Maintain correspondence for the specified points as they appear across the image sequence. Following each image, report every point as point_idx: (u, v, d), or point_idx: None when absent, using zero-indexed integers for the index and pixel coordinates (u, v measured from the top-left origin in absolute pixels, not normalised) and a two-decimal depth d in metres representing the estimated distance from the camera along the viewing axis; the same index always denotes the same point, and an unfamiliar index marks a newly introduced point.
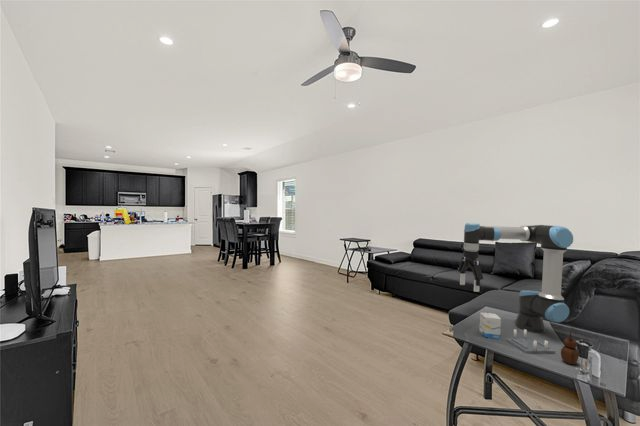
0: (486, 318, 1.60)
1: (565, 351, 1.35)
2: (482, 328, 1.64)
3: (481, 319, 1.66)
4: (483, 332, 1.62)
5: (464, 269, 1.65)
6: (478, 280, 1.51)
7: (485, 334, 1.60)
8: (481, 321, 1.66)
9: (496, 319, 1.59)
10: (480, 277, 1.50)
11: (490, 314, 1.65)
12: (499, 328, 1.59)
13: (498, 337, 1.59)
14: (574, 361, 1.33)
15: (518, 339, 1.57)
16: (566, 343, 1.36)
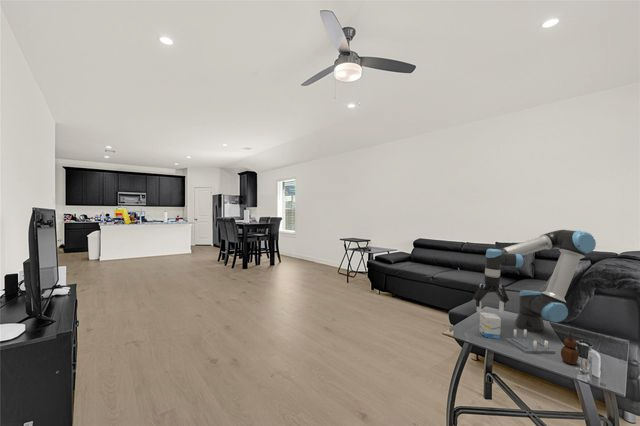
0: (486, 318, 1.60)
1: (565, 351, 1.35)
2: (482, 328, 1.64)
3: (481, 319, 1.66)
4: (483, 332, 1.62)
5: (499, 296, 1.64)
6: (476, 300, 1.63)
7: (485, 334, 1.60)
8: (481, 321, 1.66)
9: (496, 319, 1.59)
10: (474, 297, 1.63)
11: (490, 314, 1.65)
12: (499, 328, 1.59)
13: (498, 337, 1.59)
14: (574, 361, 1.33)
15: (518, 339, 1.57)
16: (566, 343, 1.36)
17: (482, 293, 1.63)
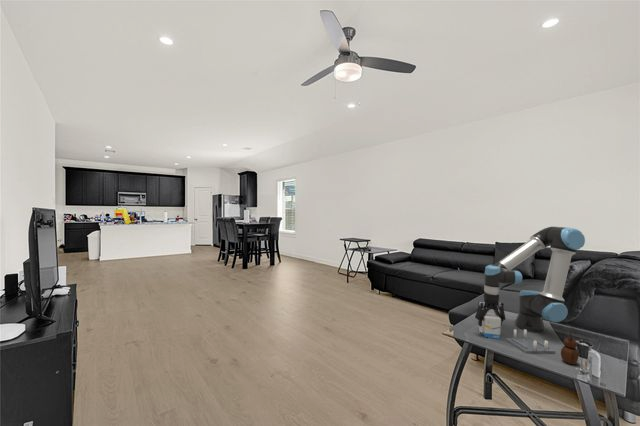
0: (486, 318, 1.60)
1: (565, 351, 1.35)
2: None
3: None
4: (483, 332, 1.62)
5: (496, 314, 1.64)
6: (479, 320, 1.63)
7: (485, 334, 1.60)
8: None
9: (496, 319, 1.59)
10: (476, 317, 1.63)
11: (490, 314, 1.65)
12: (499, 328, 1.59)
13: (498, 337, 1.59)
14: (574, 361, 1.33)
15: (518, 339, 1.57)
16: (566, 343, 1.36)
17: (483, 312, 1.63)
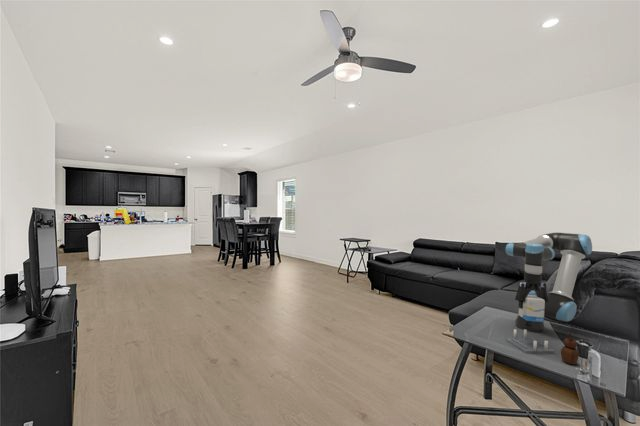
0: (528, 299, 1.48)
1: (565, 351, 1.35)
2: None
3: None
4: (525, 314, 1.49)
5: (538, 296, 1.51)
6: (519, 302, 1.51)
7: (527, 317, 1.48)
8: None
9: (539, 300, 1.46)
10: (516, 298, 1.50)
11: (531, 296, 1.52)
12: (543, 310, 1.46)
13: (541, 320, 1.46)
14: (574, 361, 1.33)
15: (518, 339, 1.57)
16: (566, 343, 1.36)
17: (524, 293, 1.50)
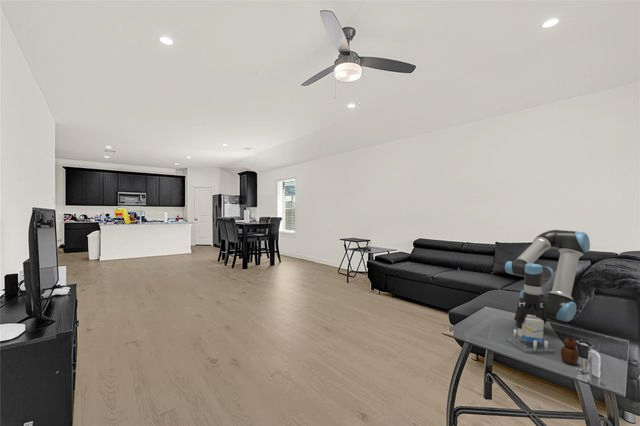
0: (527, 320, 1.48)
1: (565, 351, 1.35)
2: None
3: None
4: (524, 335, 1.49)
5: (537, 316, 1.51)
6: (518, 322, 1.51)
7: (526, 337, 1.48)
8: None
9: (538, 321, 1.47)
10: (516, 319, 1.51)
11: (530, 316, 1.52)
12: (542, 331, 1.46)
13: (541, 341, 1.46)
14: (574, 361, 1.33)
15: (518, 339, 1.57)
16: (566, 343, 1.36)
17: (523, 313, 1.50)
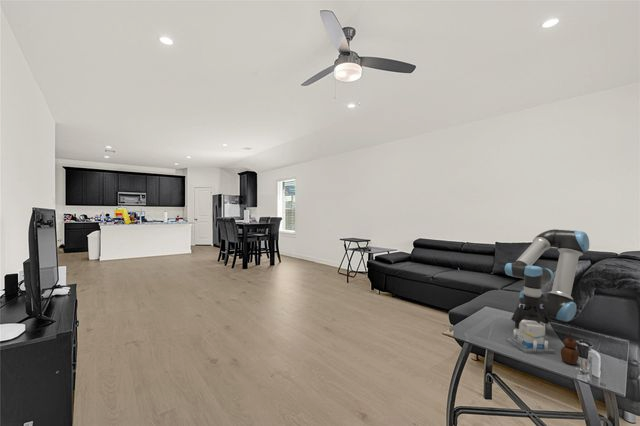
0: (528, 326, 1.48)
1: (565, 351, 1.35)
2: (522, 337, 1.51)
3: (521, 327, 1.53)
4: (525, 341, 1.49)
5: (539, 317, 1.52)
6: (515, 322, 1.51)
7: (527, 343, 1.48)
8: (521, 329, 1.53)
9: (539, 327, 1.47)
10: (513, 318, 1.50)
11: (530, 321, 1.52)
12: (542, 337, 1.46)
13: (541, 347, 1.47)
14: (574, 361, 1.33)
15: None
16: (566, 343, 1.36)
17: (521, 314, 1.50)
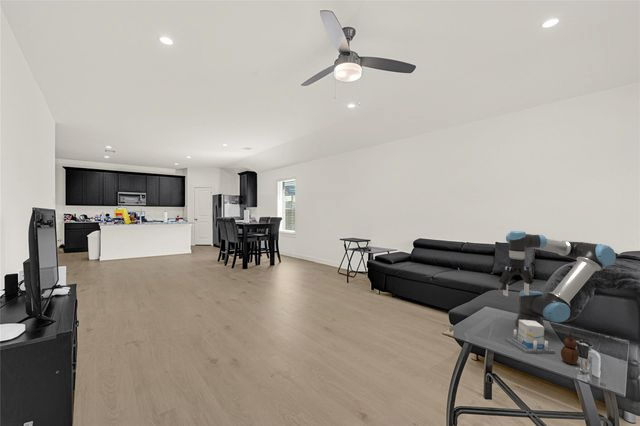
0: (528, 326, 1.48)
1: (565, 351, 1.35)
2: (522, 337, 1.51)
3: (521, 327, 1.53)
4: (525, 341, 1.49)
5: (523, 278, 1.63)
6: (503, 284, 1.61)
7: (527, 343, 1.48)
8: (521, 329, 1.53)
9: (539, 327, 1.47)
10: (500, 281, 1.60)
11: (530, 321, 1.52)
12: (542, 337, 1.46)
13: (541, 347, 1.47)
14: (574, 361, 1.33)
15: None
16: (566, 343, 1.36)
17: (508, 276, 1.61)
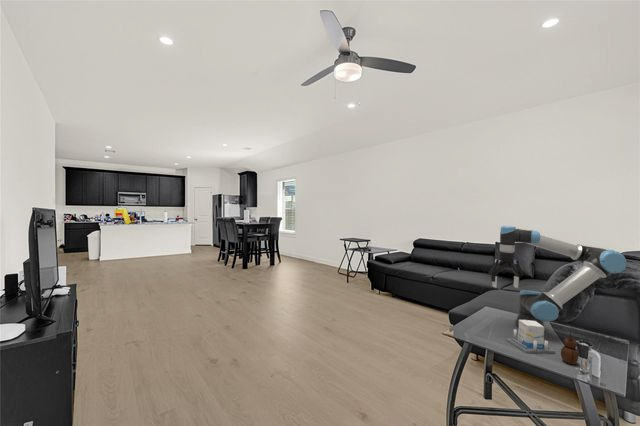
0: (528, 326, 1.48)
1: (565, 351, 1.35)
2: (522, 337, 1.51)
3: (521, 327, 1.53)
4: (525, 341, 1.49)
5: (513, 271, 1.70)
6: (492, 276, 1.69)
7: (527, 343, 1.48)
8: (521, 329, 1.53)
9: (539, 327, 1.47)
10: (489, 272, 1.68)
11: (530, 321, 1.52)
12: (542, 337, 1.46)
13: (541, 347, 1.47)
14: (574, 361, 1.33)
15: None
16: (566, 343, 1.36)
17: (497, 268, 1.68)
